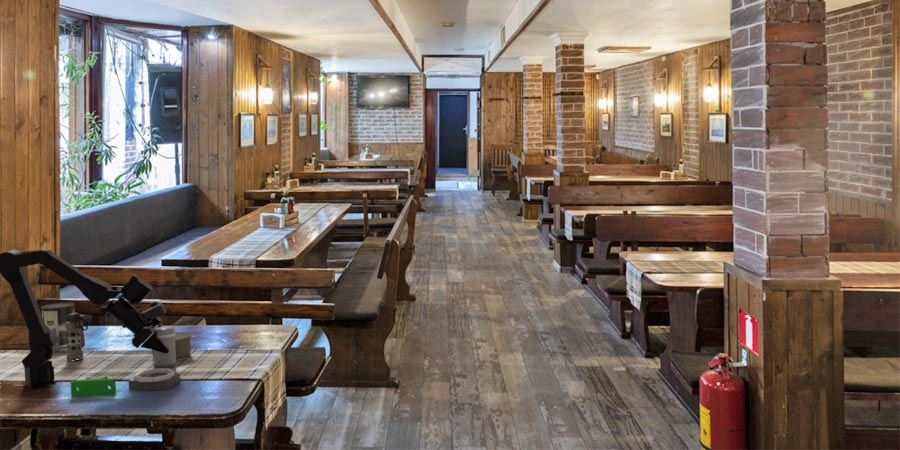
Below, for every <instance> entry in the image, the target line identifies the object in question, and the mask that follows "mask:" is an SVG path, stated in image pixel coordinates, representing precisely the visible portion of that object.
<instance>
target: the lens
mask: <svg viewBox="0 0 900 450" xmlns="http://www.w3.org/2000/svg"><path fill="white" fill-rule="evenodd" d="M156 330H157V337H158V338H159V339H160V340H161V342H162V343H163V344H164V345H165V346H166V347H167V348H168V350H169V352H168V353H167V354H166V353H162V352H159V351H155V350H154V360H153V362H154V363H153V369H156V368H169V369H171V370H173V371H175V373H177V361H176V352H175V332H176V331H175V327H174V326H162V327H158V328H154V332H155V331H156Z"/></svg>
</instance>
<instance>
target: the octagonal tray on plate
mask: <svg viewBox="0 0 900 450" xmlns="http://www.w3.org/2000/svg"><path fill="white" fill-rule="evenodd" d="M180 374H181V373H180V372H176V373H175V371H173V370H171V369H169V368H156V369H154V368H151V369H146V370H141V371H139V372H137V373H135V374H134V375H133V378H131V379H129V380H128V391H129V390H131V391H132V390H135V391H137V390H138V391H143V390H145V391H147V390H149V391H151V390H152V391H156V390H158V391H160V390H161V391H168V390H170V389H171V388H172V387H174V386H176V385H177V384H178V383H180V382H181V375H180Z"/></svg>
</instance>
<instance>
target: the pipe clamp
mask: <svg viewBox="0 0 900 450" xmlns="http://www.w3.org/2000/svg"><path fill="white" fill-rule="evenodd" d="M116 383H117V382H116V378H108V376H107V375H106V376H105V375H104V376H103V377H99V378H91V377H90V376H87V377H86V378H84V379H76V380H71V381H70V392H71V394H70V395H71V398H86V397H88V398H89V397H107V396H109V397H110V396H116V395H117V387H116V386H117V384H116ZM109 387H110V388H109ZM77 388H78V389H77Z"/></svg>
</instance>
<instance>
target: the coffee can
mask: <svg viewBox="0 0 900 450" xmlns="http://www.w3.org/2000/svg"><path fill="white" fill-rule="evenodd" d="M40 310H41V315H42V317H43V320H44V322H45V324H46V326H47V327H48V328H49V329H50V330H51V329H53V328H55V329H56V332H57V336H58V338H59V339H60V341H59V348H66V347H67V348H68V341H67V329H66V328H65V323H66V322H69V321H70V317H68V315H69V314H71V313H76V312H75V303H73V302H57V303H49V304H45V305H42V306H41V307H40ZM68 335H69V334H68ZM59 348H58V349H59Z"/></svg>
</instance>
